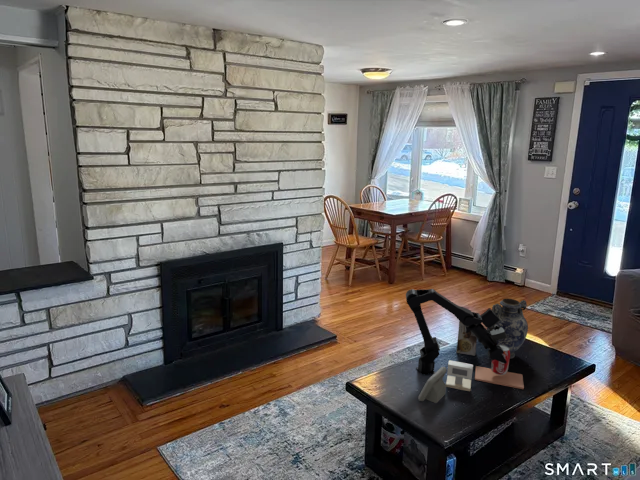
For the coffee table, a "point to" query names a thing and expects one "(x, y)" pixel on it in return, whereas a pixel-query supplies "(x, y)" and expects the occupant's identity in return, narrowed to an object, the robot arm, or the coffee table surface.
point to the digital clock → (434, 387)
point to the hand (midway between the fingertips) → (503, 359)
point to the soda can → (499, 366)
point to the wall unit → (459, 375)
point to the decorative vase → (511, 323)
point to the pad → (499, 378)
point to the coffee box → (466, 341)
